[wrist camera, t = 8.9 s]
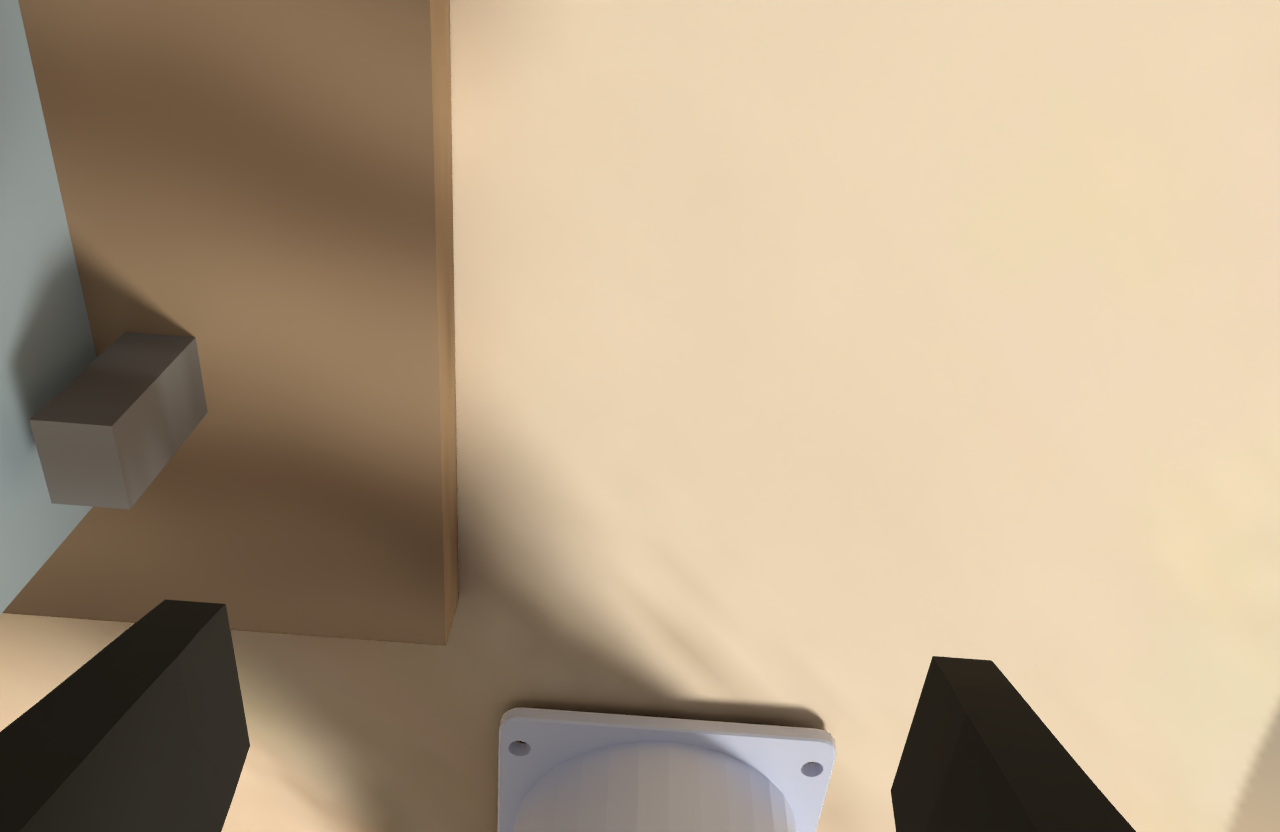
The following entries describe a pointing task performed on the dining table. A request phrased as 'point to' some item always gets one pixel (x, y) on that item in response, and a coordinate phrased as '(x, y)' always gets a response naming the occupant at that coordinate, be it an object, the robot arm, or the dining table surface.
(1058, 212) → the dining table surface
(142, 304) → the plinth
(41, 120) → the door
